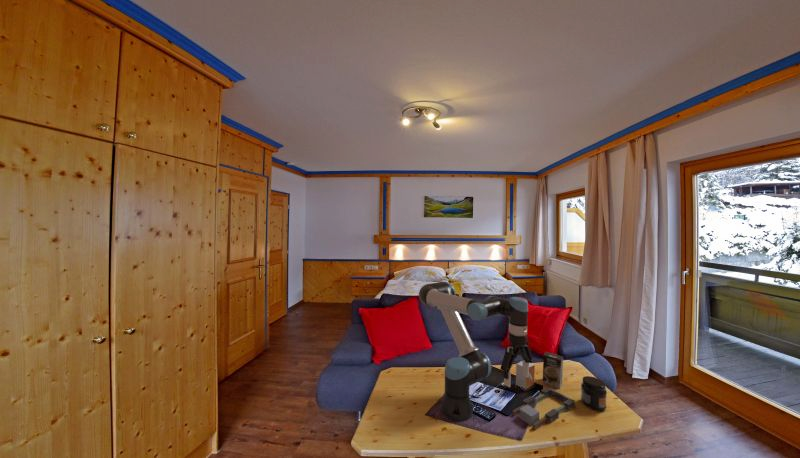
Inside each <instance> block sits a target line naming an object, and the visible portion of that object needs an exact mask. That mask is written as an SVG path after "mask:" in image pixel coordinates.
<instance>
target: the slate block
mask: <svg viewBox="0 0 800 458" xmlns="http://www.w3.org/2000/svg"><path fill="white" fill-rule="evenodd" d="M518 415H519V417H518V418H519V419H520V420H521V419H522V420H521V421H523V420H524V421H525V422H524V421H523V422H524V423H526V422H527V423H526V424H527V425H528V426H531V427H532V426H533V424H534V423H535V422H537V421H538V420H540V411H539V410H537V409H536V408H534V407H533V406H532V407H531V406H529V405H525V406H524V407H522V408H520V412H519V414H518Z"/></svg>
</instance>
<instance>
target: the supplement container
mask: <svg viewBox="0 0 800 458" xmlns="http://www.w3.org/2000/svg"><path fill="white" fill-rule="evenodd" d="M581 382H582V383H581V384H580V386H581V391H580V394H581V395H580V399H581V400H580V401H581V403H582V404H583V405H584V406H586V407H587V408H589V409H591V410H594V411H605V410H606V409H607V394H608V392H607V390H606V389H607V388H606V387H607V386H606V382H604V381H603V380H602V379H600V378H597V377H594V376H591V375H587V376H583V377H582V381H581Z"/></svg>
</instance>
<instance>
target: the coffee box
mask: <svg viewBox="0 0 800 458" xmlns="http://www.w3.org/2000/svg"><path fill="white" fill-rule="evenodd" d="M542 360H543V361H542V362H543V363H542V364H543V365H542V383H543V384H546V385H548V386H551V387H554V388H556V389H559V390H561V388H562V386H563V376H564V375H563V371H564V369H563V368H564V356H562V355H559V354H556V353H552V352H548V351H545V352H544V354H543V359H542Z"/></svg>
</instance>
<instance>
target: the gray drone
mask: <svg viewBox="0 0 800 458" xmlns="http://www.w3.org/2000/svg"><path fill="white" fill-rule="evenodd" d="M548 397H553V398H555V399H557V400H559V401H560V402H562V403H563V404H562V405H560V406H558V407H557V408H556V409H555V408H552V409H551V410H549V411H548V412H546V413H545V414H544V416H543V417H542V418H539V420H538V421H537V422H535V423H534V424H533V425H532V426H531V427H532V430H534V431H537V430H538V429H539V428H542V426H544V425H545V424H547V423H549V424H552V423H553V422H555V421H556V420H557V419H559V415H561V413H564V412H565V411H568V412H569V411H571V410H573V409H574V408H575V407H576V401H575V400H574V399H573V398H570V397H568V396H566V395H565V394H563V393H561V392H558V391H557V390H555V389H552V388H551V387H549V386H546V387H545V388H542V389H541V390H540V394H539V395H538V396H536V397H534V396H531V395H530V396H528V397H526V398H525V399H523V400H522V405H520V406H518V407H516V408H515V409H513V410H512V411H511V416H513V417H516V416H518V415H519V412H520V408H522V407H524V406H525V405H529V406H532V407H533V406H535V405H537V404H538V403H540V402H542V401H544V400H545V399H547V398H548Z"/></svg>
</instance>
